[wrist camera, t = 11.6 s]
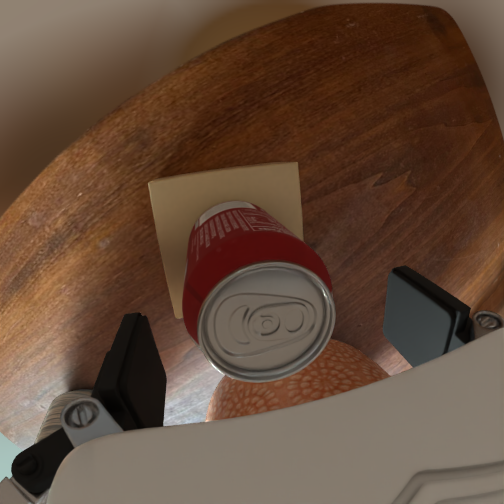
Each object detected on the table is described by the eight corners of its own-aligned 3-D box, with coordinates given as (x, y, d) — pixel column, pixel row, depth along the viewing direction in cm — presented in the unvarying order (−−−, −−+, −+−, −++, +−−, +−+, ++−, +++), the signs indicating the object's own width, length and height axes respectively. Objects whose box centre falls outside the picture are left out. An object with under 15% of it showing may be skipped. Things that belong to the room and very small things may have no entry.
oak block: (155, 178, 24) (147, 182, 20) (283, 161, 25) (298, 162, 22) (178, 298, 27) (175, 319, 24) (293, 278, 29) (306, 296, 25)
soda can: (185, 202, 21) (169, 252, 10) (277, 197, 22) (357, 238, 11) (192, 289, 23) (192, 400, 12) (277, 282, 24) (339, 379, 13)
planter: (242, 279, 28) (309, 454, 10) (393, 334, 34) (491, 433, 16) (172, 421, 32) (175, 559, 14) (310, 443, 38) (354, 545, 20)
